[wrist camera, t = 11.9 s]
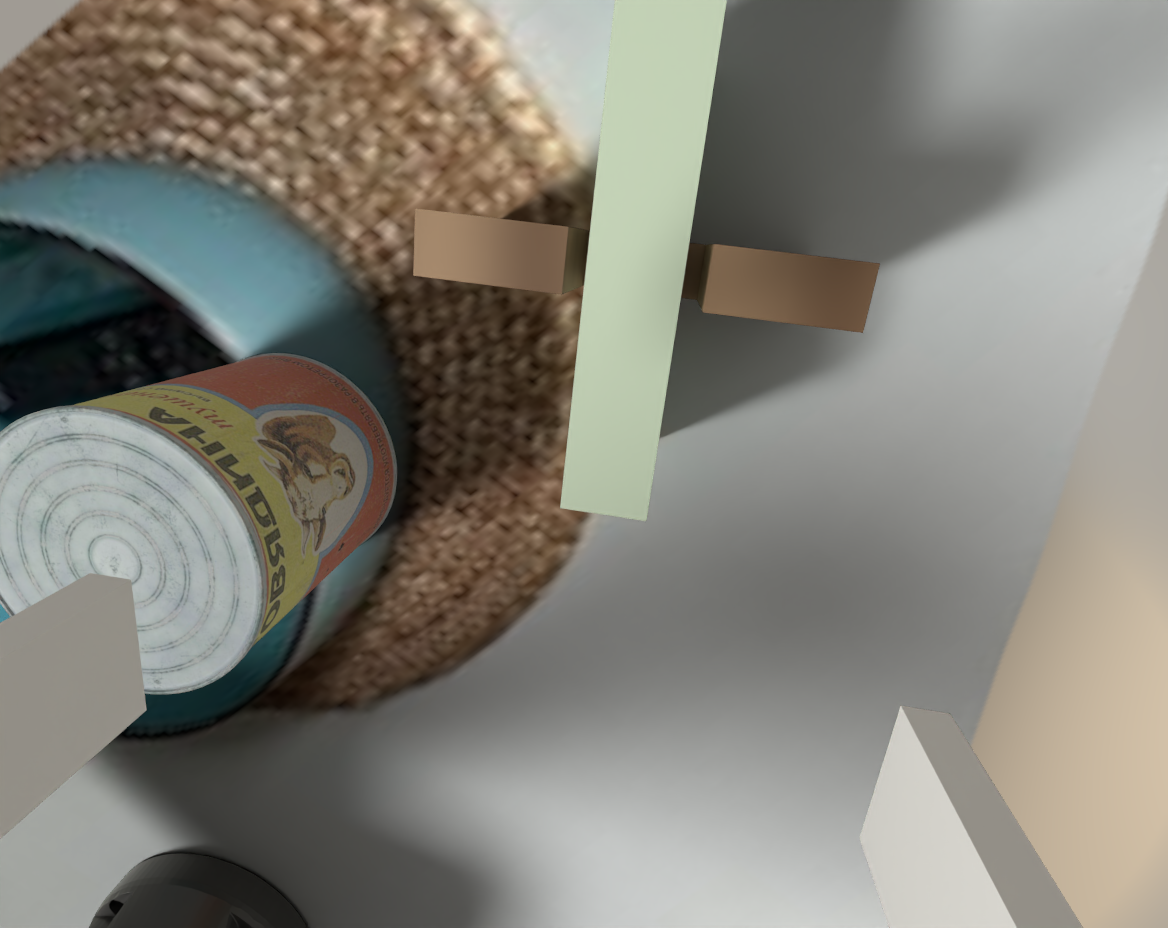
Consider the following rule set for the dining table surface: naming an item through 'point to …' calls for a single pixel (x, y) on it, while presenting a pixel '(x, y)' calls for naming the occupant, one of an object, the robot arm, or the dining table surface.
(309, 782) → the dining table surface
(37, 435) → the canned food
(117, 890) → the robot arm
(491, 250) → the brown u-shaped block
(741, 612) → the dining table surface
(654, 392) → the green arch bridge
